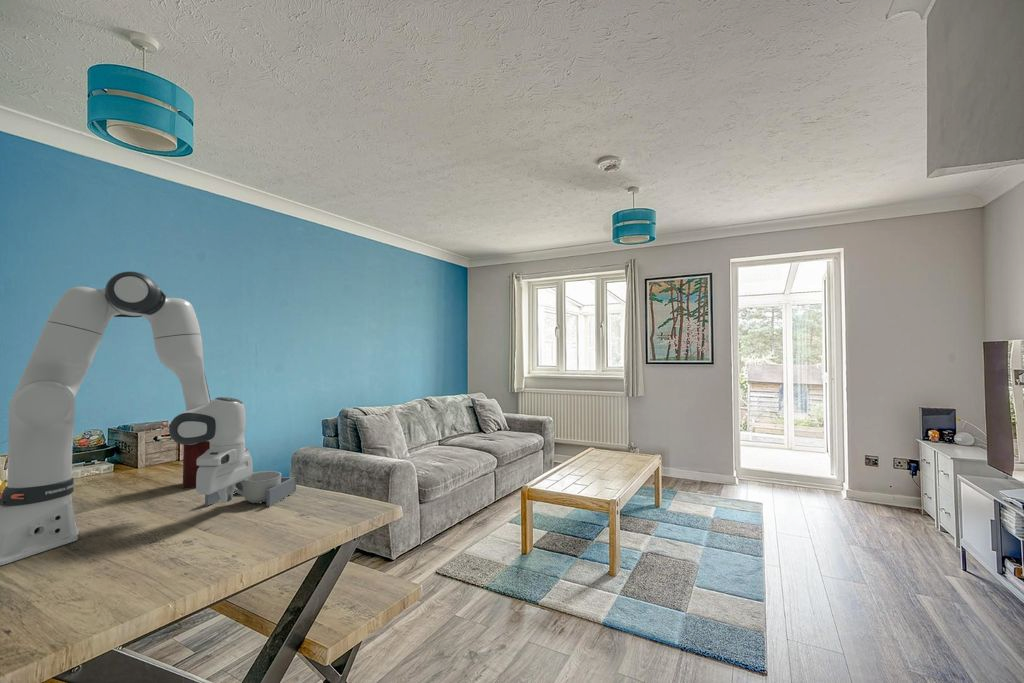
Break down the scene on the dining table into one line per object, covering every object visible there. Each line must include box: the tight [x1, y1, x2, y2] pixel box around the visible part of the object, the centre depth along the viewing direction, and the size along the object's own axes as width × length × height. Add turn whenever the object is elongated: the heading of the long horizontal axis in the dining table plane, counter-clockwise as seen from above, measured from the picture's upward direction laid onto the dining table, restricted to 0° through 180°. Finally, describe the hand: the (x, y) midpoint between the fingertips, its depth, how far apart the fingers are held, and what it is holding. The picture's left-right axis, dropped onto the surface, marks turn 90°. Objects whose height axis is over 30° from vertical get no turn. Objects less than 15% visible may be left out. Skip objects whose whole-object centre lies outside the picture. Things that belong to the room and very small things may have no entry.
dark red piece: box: [182, 441, 210, 489], centre depth 164 cm, size 9×11×28 cm
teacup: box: [234, 470, 282, 504], centre depth 143 cm, size 14×11×8 cm
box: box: [204, 476, 297, 507], centre depth 145 cm, size 15×20×5 cm
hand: (226, 501), depth 133 cm, fingers closed
